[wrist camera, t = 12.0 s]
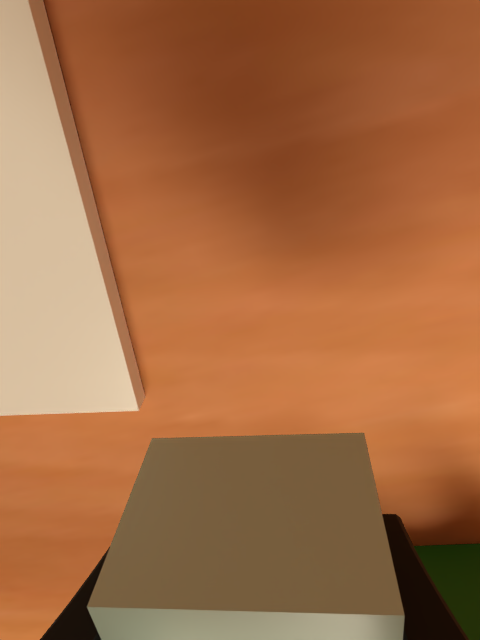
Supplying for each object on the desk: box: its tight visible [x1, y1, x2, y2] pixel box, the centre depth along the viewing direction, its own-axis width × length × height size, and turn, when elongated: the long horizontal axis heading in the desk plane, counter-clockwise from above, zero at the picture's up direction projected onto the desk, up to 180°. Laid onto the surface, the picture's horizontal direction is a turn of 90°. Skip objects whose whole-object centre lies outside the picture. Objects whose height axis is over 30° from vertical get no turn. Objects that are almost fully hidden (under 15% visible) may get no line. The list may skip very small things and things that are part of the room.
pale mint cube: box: [87, 433, 405, 640], centre depth 10 cm, size 5×5×4 cm
